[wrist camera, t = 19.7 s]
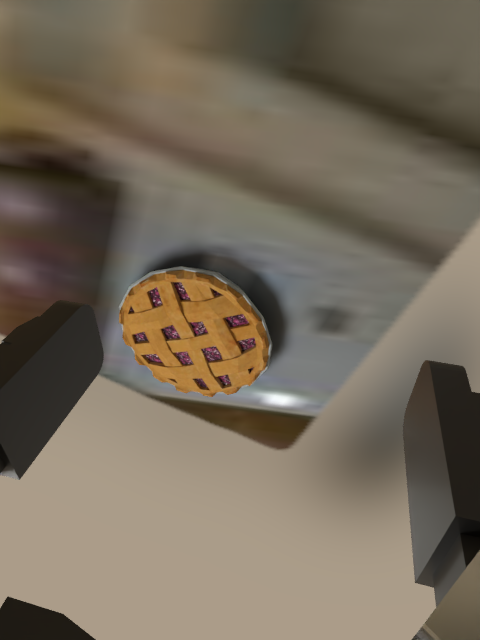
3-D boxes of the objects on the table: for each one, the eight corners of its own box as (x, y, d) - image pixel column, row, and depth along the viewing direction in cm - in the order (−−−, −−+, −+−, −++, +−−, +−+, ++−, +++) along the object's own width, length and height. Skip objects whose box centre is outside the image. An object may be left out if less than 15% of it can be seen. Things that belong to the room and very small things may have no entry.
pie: (101, 283, 61) (83, 302, 57) (230, 232, 51) (219, 251, 47) (178, 390, 71) (167, 412, 67) (299, 364, 61) (294, 389, 57)
